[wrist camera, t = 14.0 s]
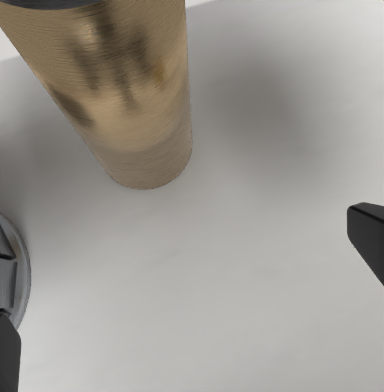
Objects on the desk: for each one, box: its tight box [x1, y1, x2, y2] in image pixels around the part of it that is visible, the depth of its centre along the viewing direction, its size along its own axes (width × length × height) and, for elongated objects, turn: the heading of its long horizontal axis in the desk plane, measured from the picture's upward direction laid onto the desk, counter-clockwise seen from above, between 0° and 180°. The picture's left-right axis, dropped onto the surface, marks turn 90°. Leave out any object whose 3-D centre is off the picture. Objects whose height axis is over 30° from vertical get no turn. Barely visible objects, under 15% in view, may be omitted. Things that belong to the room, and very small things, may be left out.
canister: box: [0, 0, 192, 189], centre depth 12 cm, size 5×5×13 cm
